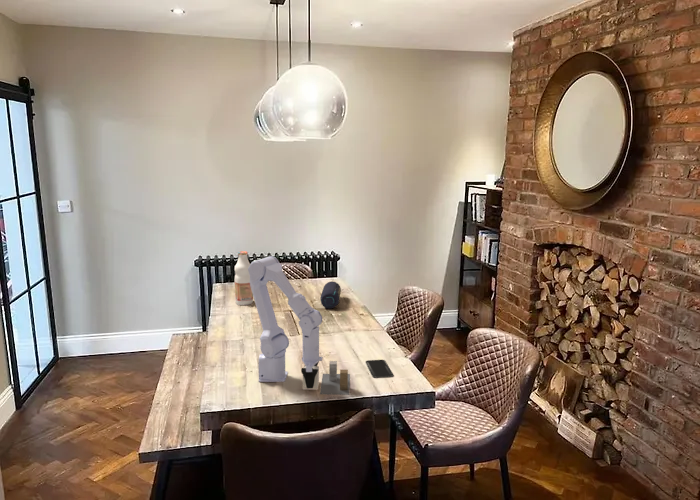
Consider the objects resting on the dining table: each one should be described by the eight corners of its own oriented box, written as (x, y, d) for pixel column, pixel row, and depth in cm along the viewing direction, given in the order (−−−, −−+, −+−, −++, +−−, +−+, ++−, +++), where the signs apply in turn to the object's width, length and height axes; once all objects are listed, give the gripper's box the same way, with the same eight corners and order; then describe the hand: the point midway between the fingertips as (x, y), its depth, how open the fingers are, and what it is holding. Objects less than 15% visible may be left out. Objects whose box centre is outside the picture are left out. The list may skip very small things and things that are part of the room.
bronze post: (339, 390, 172) (340, 372, 171) (340, 386, 175) (340, 369, 174) (347, 390, 172) (347, 372, 171) (347, 386, 175) (347, 369, 174)
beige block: (302, 390, 173) (302, 372, 171) (304, 383, 178) (304, 366, 176) (317, 390, 173) (317, 372, 171) (318, 383, 178) (318, 366, 176)
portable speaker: (338, 310, 260) (338, 292, 258) (319, 310, 260) (319, 291, 258) (341, 297, 285) (341, 279, 283) (323, 296, 285) (323, 279, 283)
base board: (319, 395, 169) (319, 394, 169) (322, 374, 185) (322, 373, 185) (349, 395, 169) (349, 394, 169) (349, 375, 185) (349, 374, 185)
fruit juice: (231, 303, 269) (229, 252, 264) (243, 299, 277) (242, 249, 272) (244, 306, 264) (243, 254, 259) (256, 302, 272) (255, 251, 267)
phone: (373, 377, 182) (365, 360, 196) (373, 380, 182) (364, 363, 196) (394, 376, 183) (384, 359, 197) (394, 378, 183) (384, 362, 198)
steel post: (329, 380, 179) (329, 364, 178) (329, 377, 182) (329, 361, 180) (336, 380, 179) (336, 364, 178) (336, 377, 182) (337, 361, 180)
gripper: (321, 354, 165) (321, 392, 168) (323, 338, 179) (323, 373, 182) (299, 354, 165) (299, 392, 168) (304, 338, 179) (304, 373, 182)
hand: (310, 382), depth 175 cm, fingers open, 7 cm apart
